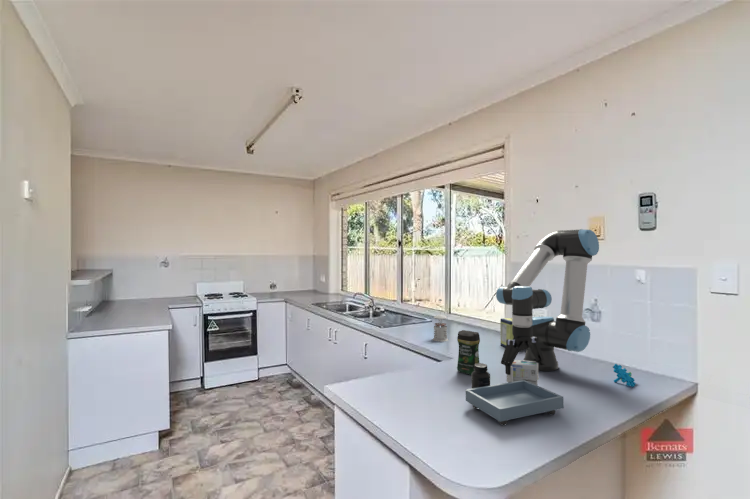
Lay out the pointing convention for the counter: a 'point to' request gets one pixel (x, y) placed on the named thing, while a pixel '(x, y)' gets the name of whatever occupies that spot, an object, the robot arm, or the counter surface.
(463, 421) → the counter surface
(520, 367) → the light bulb box
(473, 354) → the coffee jar
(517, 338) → the robot arm
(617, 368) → the gear
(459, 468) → the counter surface
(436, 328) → the french press
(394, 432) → the counter surface
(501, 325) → the protein box
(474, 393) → the tote
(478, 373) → the supplement bottle
